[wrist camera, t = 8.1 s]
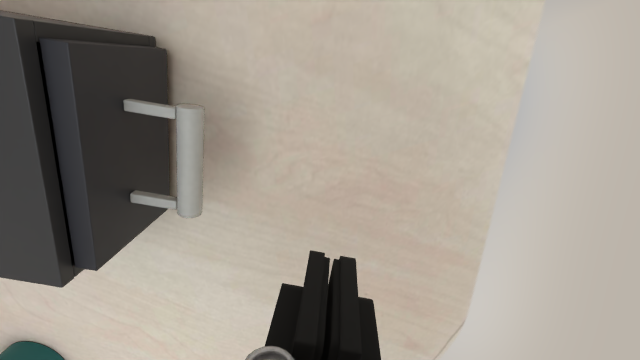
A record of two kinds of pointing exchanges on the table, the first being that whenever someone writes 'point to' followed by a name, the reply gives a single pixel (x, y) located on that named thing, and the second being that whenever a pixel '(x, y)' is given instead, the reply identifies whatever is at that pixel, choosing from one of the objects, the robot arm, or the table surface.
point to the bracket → (29, 352)
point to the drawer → (116, 143)
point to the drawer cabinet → (35, 151)
